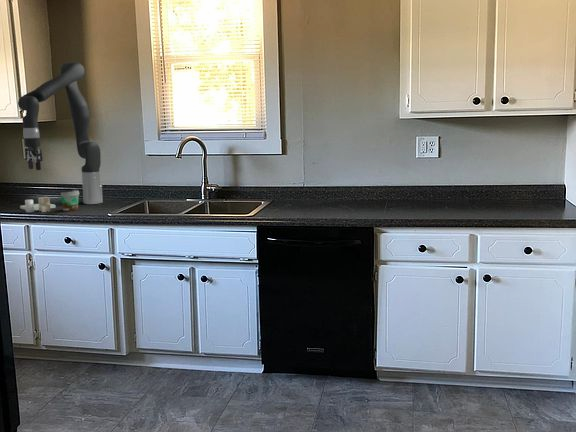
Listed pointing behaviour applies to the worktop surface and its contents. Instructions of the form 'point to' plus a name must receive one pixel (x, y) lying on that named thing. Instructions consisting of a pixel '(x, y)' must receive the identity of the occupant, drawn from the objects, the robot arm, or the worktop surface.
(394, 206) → the worktop surface
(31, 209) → the ceramic jar
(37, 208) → the cutting board
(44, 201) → the ash block
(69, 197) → the food container
